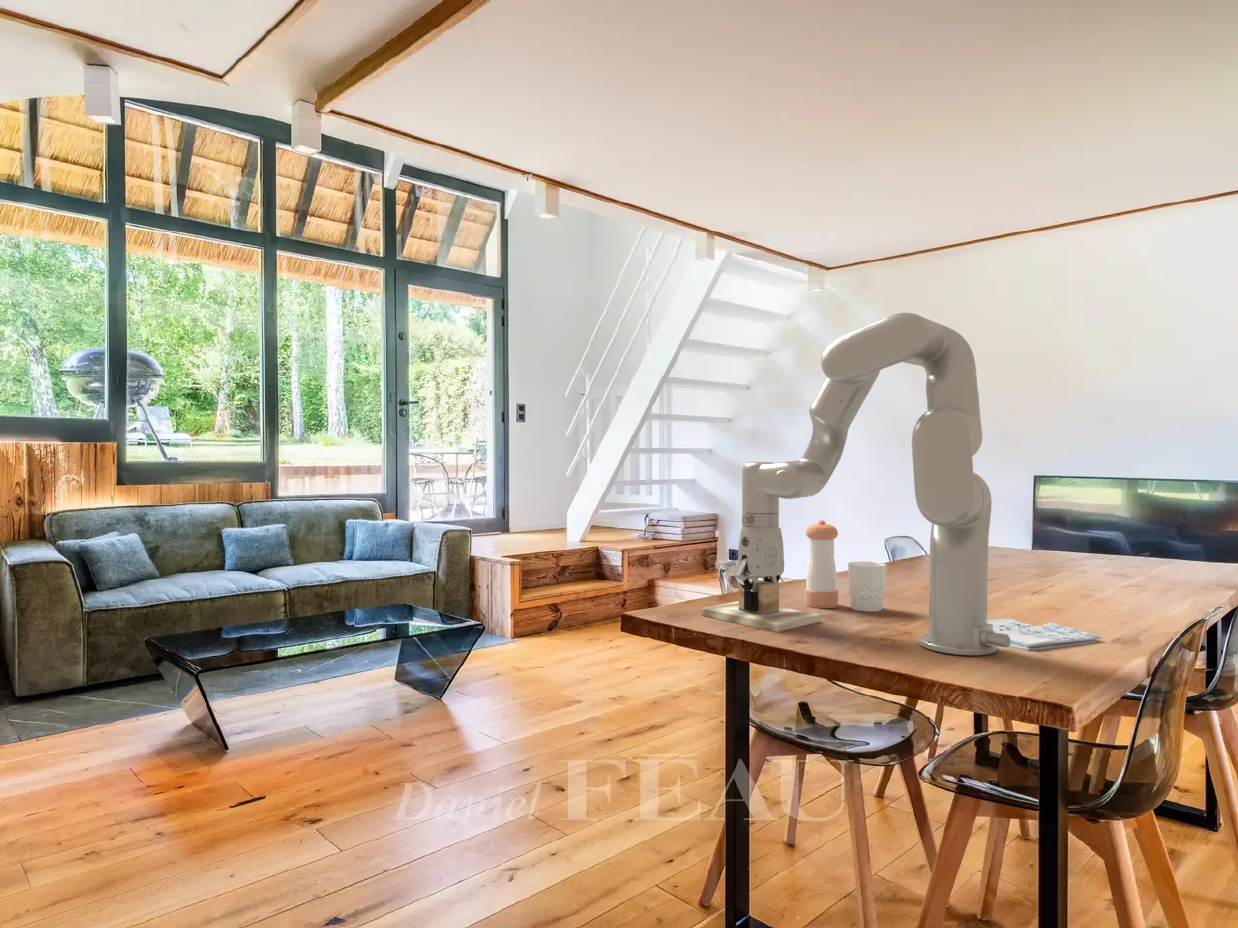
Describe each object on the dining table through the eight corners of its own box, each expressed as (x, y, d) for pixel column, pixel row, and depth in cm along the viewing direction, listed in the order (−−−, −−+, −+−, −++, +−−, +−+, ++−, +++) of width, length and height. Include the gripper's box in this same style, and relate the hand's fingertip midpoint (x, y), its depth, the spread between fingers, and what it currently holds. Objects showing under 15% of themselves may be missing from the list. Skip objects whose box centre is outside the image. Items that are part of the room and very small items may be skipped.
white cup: (847, 611, 170) (847, 565, 170) (848, 604, 178) (848, 560, 178) (885, 613, 168) (885, 567, 168) (884, 606, 176) (885, 562, 175)
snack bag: (1028, 655, 137) (1028, 642, 137) (940, 630, 155) (940, 619, 155) (1103, 644, 144) (1103, 633, 144) (1010, 622, 163) (1010, 611, 163)
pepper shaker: (841, 608, 173) (842, 522, 173) (808, 608, 174) (809, 521, 173) (833, 601, 181) (833, 519, 180) (801, 601, 181) (802, 519, 181)
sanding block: (778, 612, 162) (779, 583, 162) (765, 615, 159) (765, 585, 159) (752, 607, 167) (752, 579, 167) (738, 609, 164) (738, 581, 164)
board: (820, 621, 160) (820, 614, 160) (777, 632, 151) (777, 624, 151) (743, 606, 175) (743, 599, 175) (701, 615, 166) (701, 608, 166)
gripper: (748, 525, 154) (747, 617, 154) (800, 520, 165) (799, 605, 165) (719, 522, 160) (718, 611, 160) (771, 517, 171) (770, 600, 171)
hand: (759, 607), depth 163 cm, fingers open, 5 cm apart
